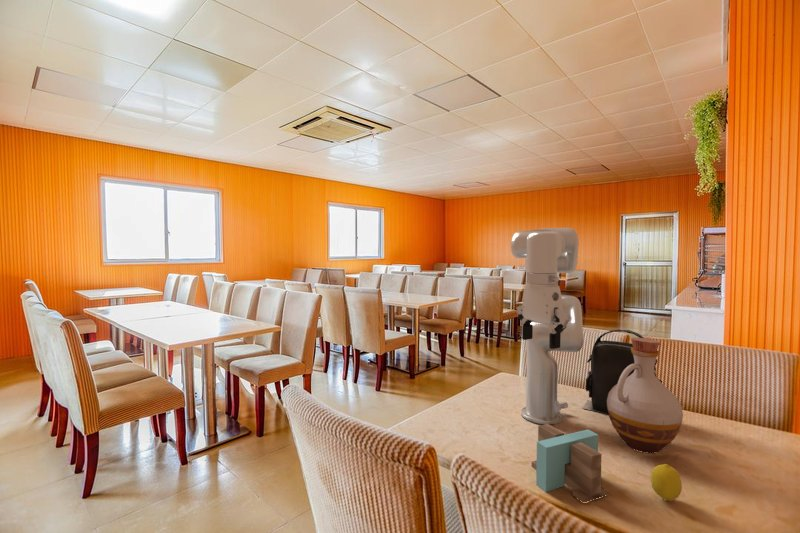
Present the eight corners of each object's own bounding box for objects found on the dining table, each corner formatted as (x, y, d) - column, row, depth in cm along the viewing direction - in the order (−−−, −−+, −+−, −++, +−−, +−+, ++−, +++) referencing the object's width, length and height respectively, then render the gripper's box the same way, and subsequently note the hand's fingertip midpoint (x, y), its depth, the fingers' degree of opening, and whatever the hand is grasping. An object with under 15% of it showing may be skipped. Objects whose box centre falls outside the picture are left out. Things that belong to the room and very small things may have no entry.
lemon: (644, 493, 88) (645, 458, 88) (667, 491, 89) (668, 457, 88) (663, 509, 83) (664, 472, 82) (687, 507, 83) (689, 470, 83)
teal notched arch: (587, 469, 98) (587, 429, 97) (597, 476, 95) (598, 434, 94) (536, 484, 91) (536, 441, 91) (545, 492, 89) (546, 447, 88)
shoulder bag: (662, 416, 129) (665, 331, 127) (661, 426, 121) (663, 336, 120) (587, 400, 142) (589, 323, 141) (582, 409, 135) (583, 327, 133)
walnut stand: (552, 460, 102) (553, 422, 101) (607, 496, 87) (608, 451, 87) (531, 466, 99) (532, 427, 99) (583, 504, 84) (584, 458, 84)
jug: (649, 471, 97) (653, 350, 95) (587, 439, 113) (589, 336, 111) (696, 454, 105) (700, 342, 104) (632, 426, 121) (634, 330, 120)
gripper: (579, 281, 97) (577, 349, 98) (528, 275, 113) (527, 334, 114) (556, 283, 94) (555, 354, 95) (507, 277, 109) (507, 337, 111)
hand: (540, 343), depth 105 cm, fingers open, 9 cm apart
